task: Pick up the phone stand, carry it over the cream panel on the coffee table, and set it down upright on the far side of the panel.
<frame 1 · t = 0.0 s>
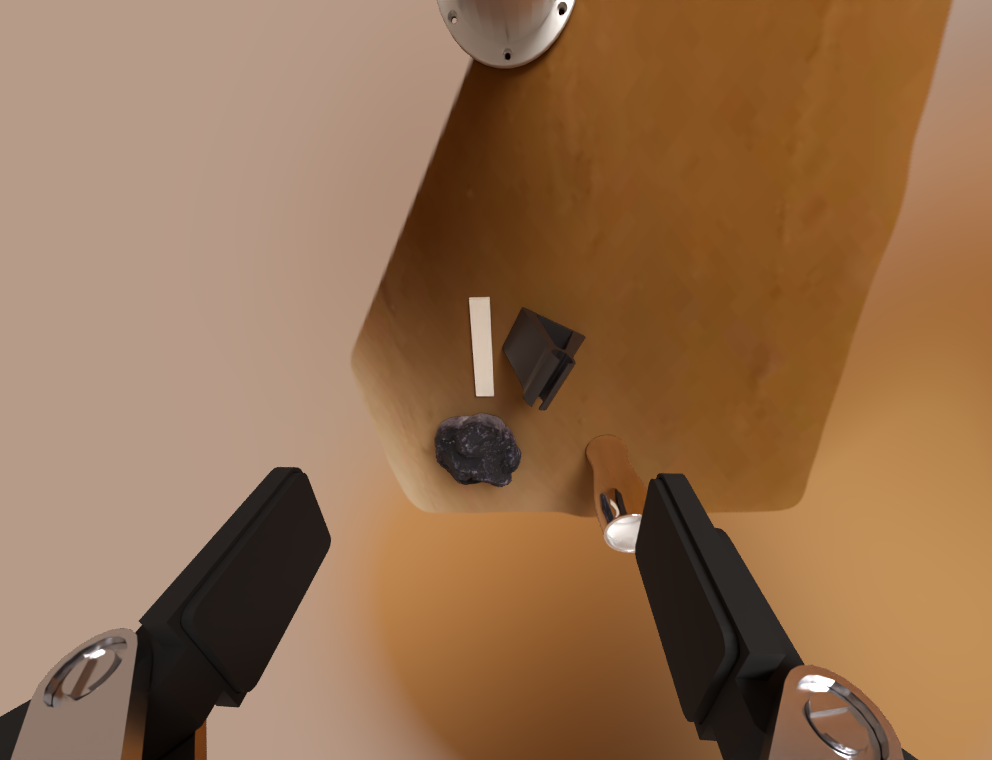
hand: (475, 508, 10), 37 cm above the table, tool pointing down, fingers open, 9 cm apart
phone stand: (543, 340, 47), on the table
black rock: (477, 441, 56), on the table
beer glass: (605, 449, 55), on the table
cream panel: (482, 349, 48), on the table
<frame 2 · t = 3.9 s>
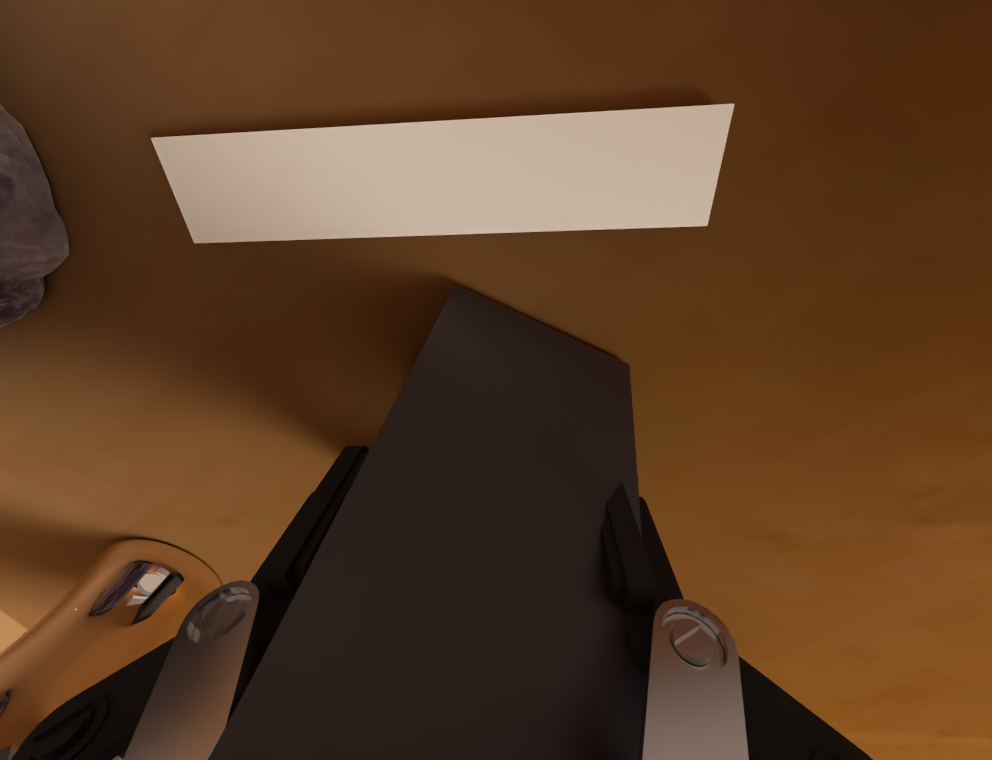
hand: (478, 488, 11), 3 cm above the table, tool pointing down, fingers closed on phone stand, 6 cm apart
phone stand: (488, 422, 13), on the table, touching gripper
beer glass: (170, 571, 20), on the table
cream panel: (435, 182, 10), on the table
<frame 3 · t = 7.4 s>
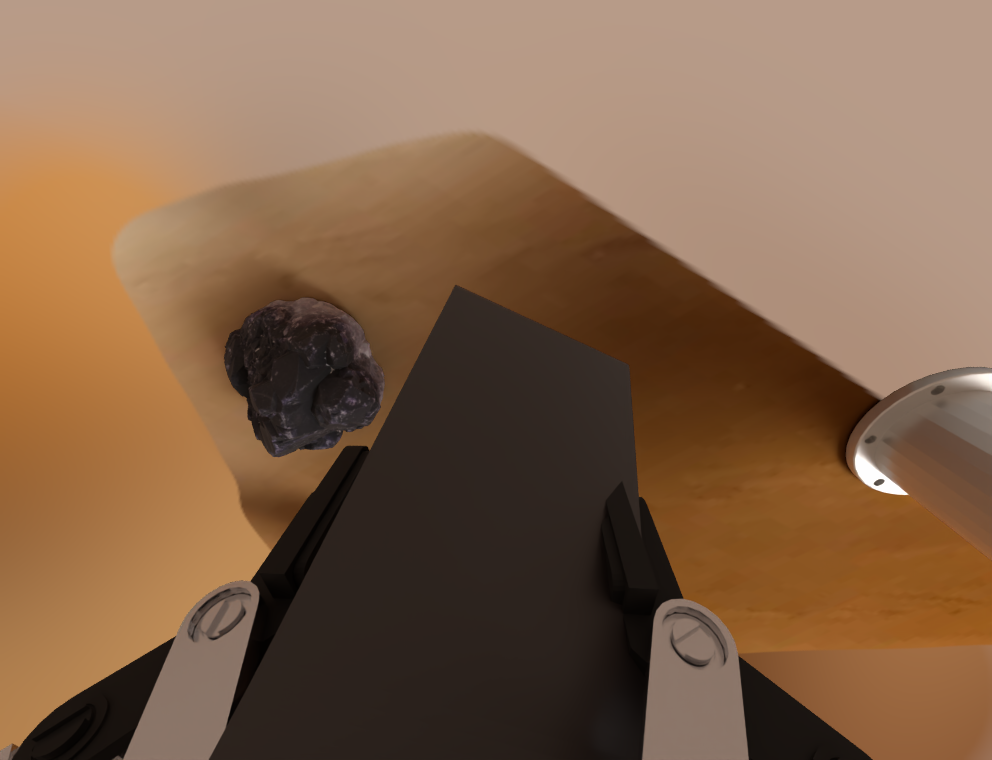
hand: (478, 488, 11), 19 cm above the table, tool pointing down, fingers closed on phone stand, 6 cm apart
phone stand: (488, 423, 13), point 16 cm above the table, touching gripper
black rock: (322, 365, 31), on the table
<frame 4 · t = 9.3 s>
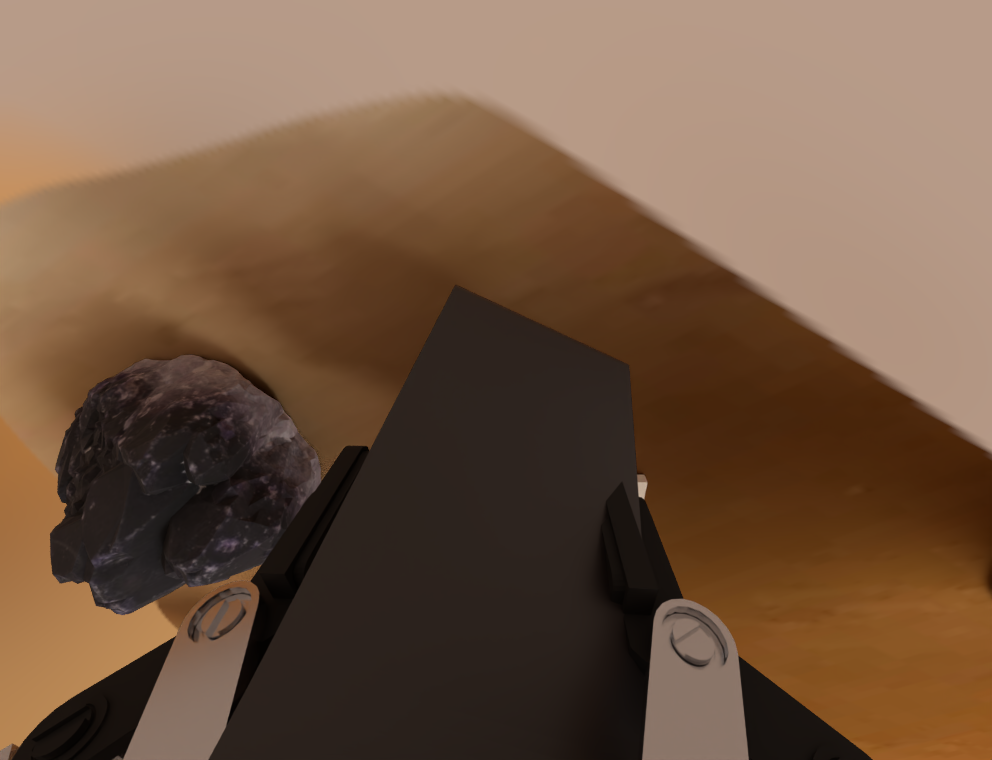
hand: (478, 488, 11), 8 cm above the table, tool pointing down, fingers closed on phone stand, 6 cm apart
phone stand: (488, 423, 13), point 5 cm above the table, touching gripper
black rock: (231, 443, 22), on the table
when the fingers open (4 cm above the table, at t = 11.0 s): phone stand drops 1 cm, on the table.
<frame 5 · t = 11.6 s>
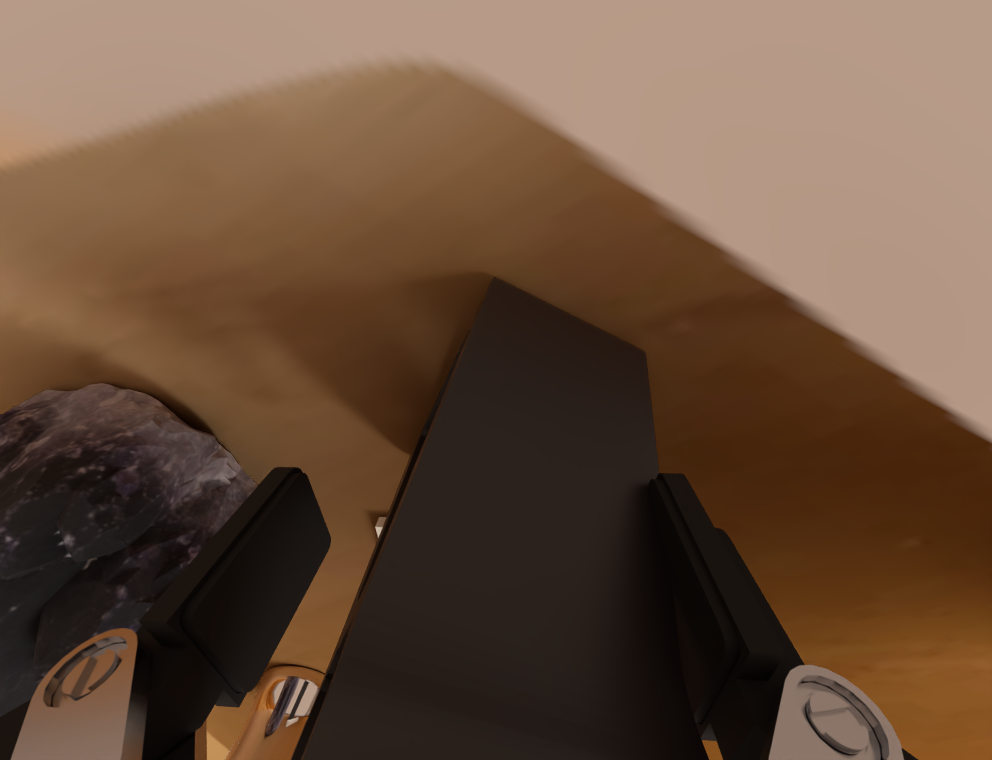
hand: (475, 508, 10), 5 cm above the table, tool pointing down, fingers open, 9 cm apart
phone stand: (513, 404, 15), on the table
black rock: (168, 483, 19), on the table
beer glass: (304, 680, 28), on the table
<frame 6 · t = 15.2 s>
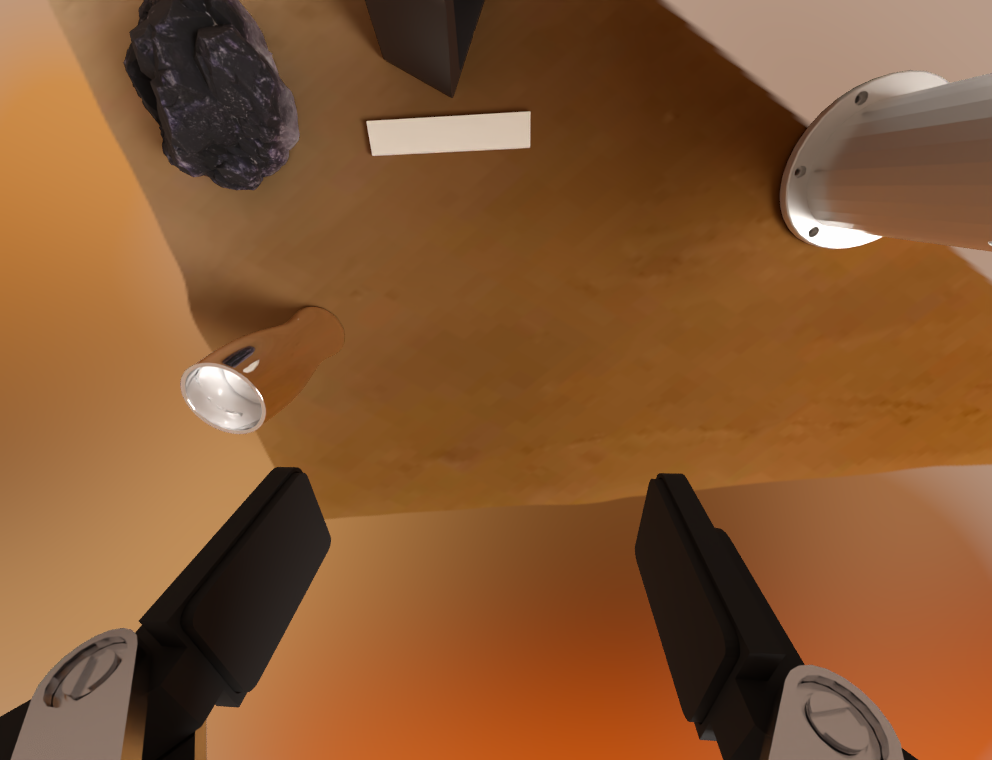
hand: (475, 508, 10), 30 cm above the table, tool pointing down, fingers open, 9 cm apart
phone stand: (439, 13, 28), on the table
black rock: (235, 102, 31), on the table
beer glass: (320, 331, 41), on the table
cream panel: (449, 135, 31), on the table
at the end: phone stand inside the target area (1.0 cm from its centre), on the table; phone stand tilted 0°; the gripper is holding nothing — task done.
